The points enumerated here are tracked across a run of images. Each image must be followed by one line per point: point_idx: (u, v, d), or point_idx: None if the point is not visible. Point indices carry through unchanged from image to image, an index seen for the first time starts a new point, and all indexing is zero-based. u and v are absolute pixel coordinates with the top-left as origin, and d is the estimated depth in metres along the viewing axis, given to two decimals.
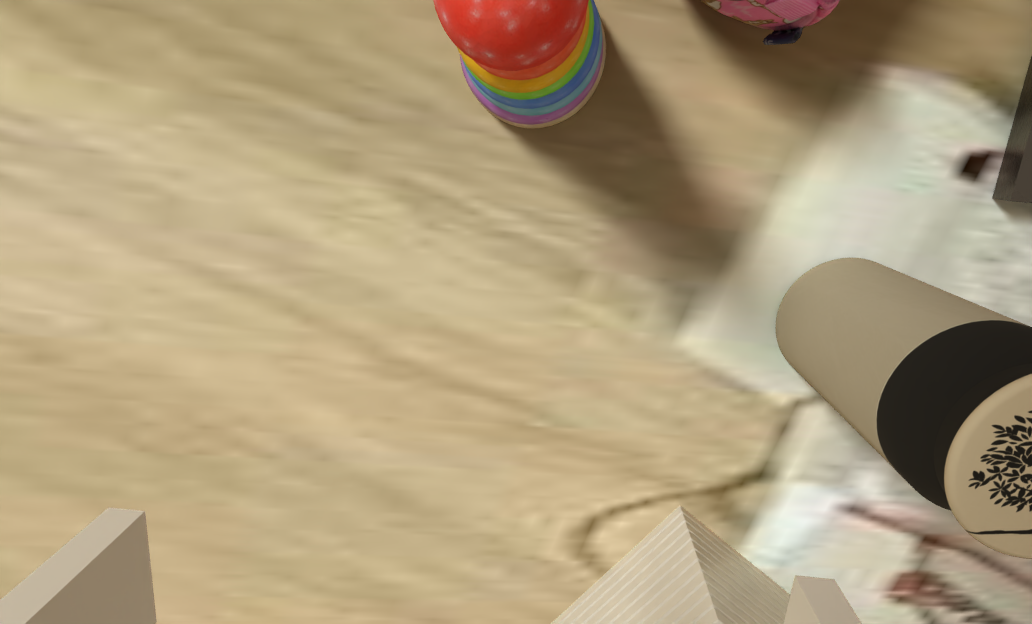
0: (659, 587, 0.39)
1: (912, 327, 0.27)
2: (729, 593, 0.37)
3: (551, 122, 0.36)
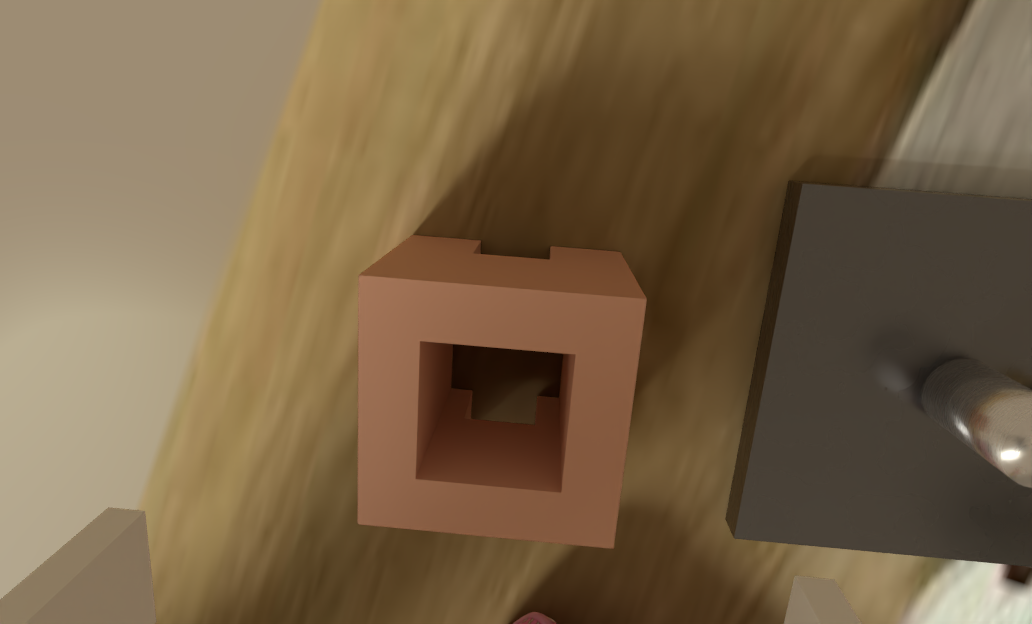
0: None
1: None
2: None
3: None
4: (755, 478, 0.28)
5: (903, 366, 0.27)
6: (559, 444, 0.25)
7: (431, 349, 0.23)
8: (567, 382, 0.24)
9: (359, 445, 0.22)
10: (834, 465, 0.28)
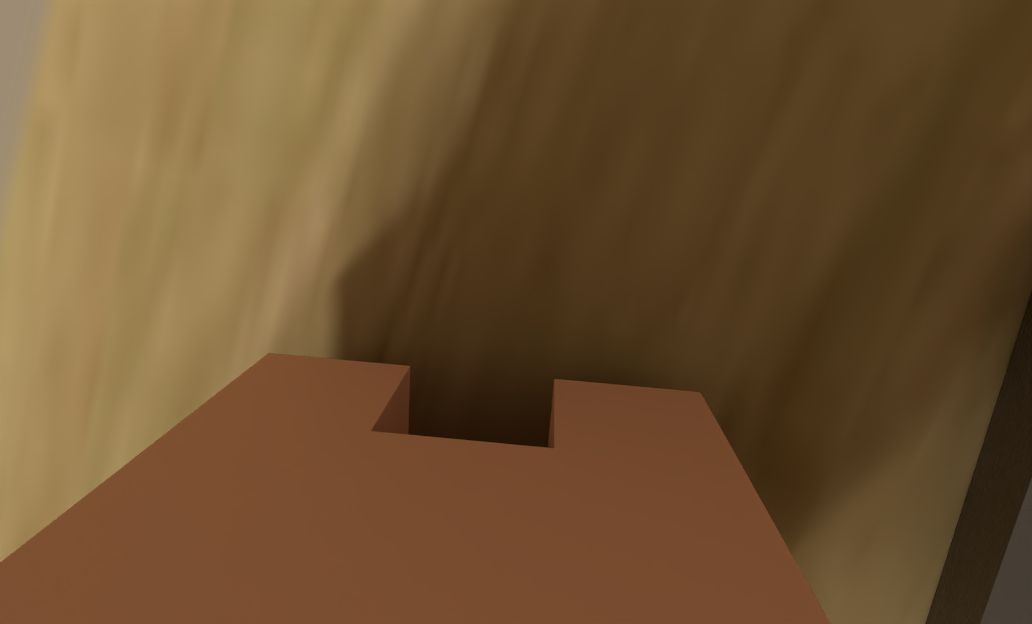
0: None
1: None
2: None
3: None
4: None
5: None
6: None
7: None
8: None
9: None
10: None
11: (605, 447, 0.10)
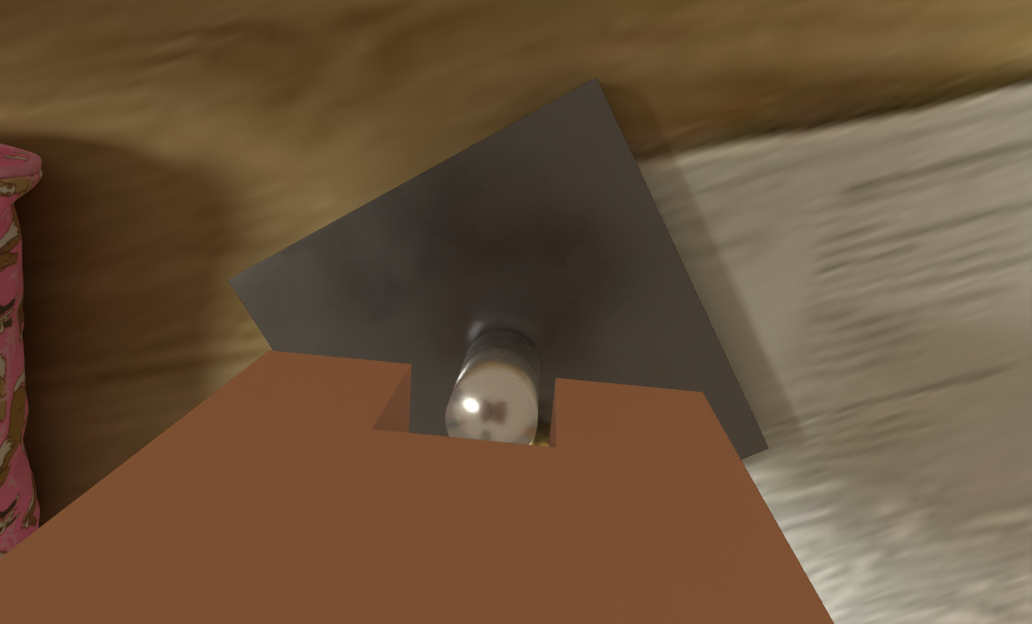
0: None
1: None
2: None
3: None
4: (299, 253, 0.25)
5: (493, 301, 0.25)
6: None
7: None
8: None
9: None
10: (364, 315, 0.25)
11: (607, 446, 0.10)
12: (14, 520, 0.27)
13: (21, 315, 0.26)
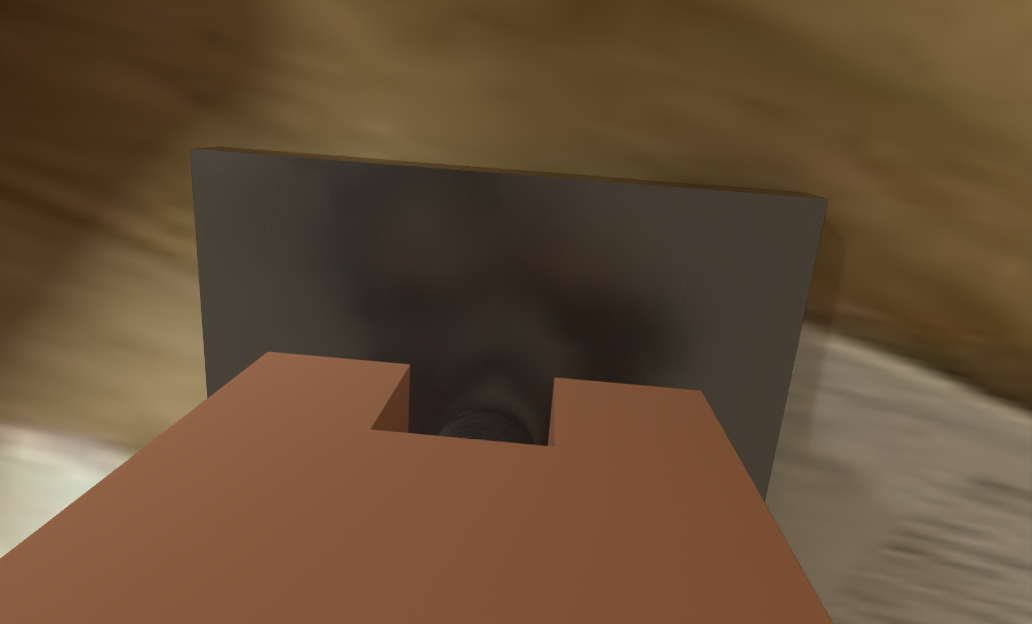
0: None
1: None
2: None
3: None
4: (312, 175, 0.16)
5: (524, 381, 0.17)
6: None
7: None
8: None
9: None
10: (350, 302, 0.17)
11: (606, 445, 0.10)
12: None
13: None
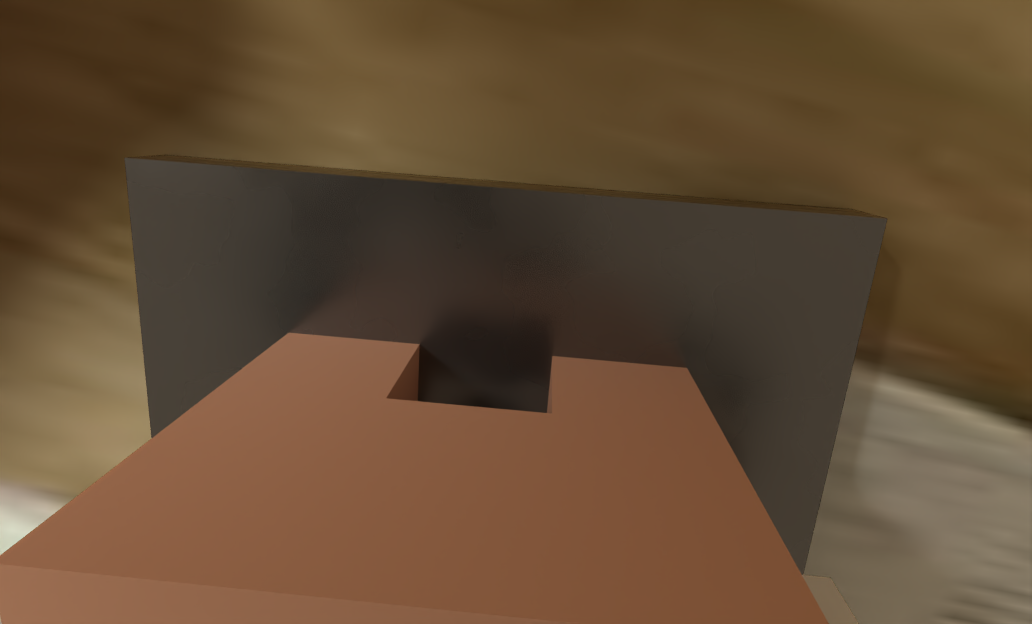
0: None
1: None
2: None
3: None
4: (269, 189, 0.14)
5: None
6: None
7: None
8: None
9: None
10: None
11: (598, 413, 0.12)
12: None
13: None
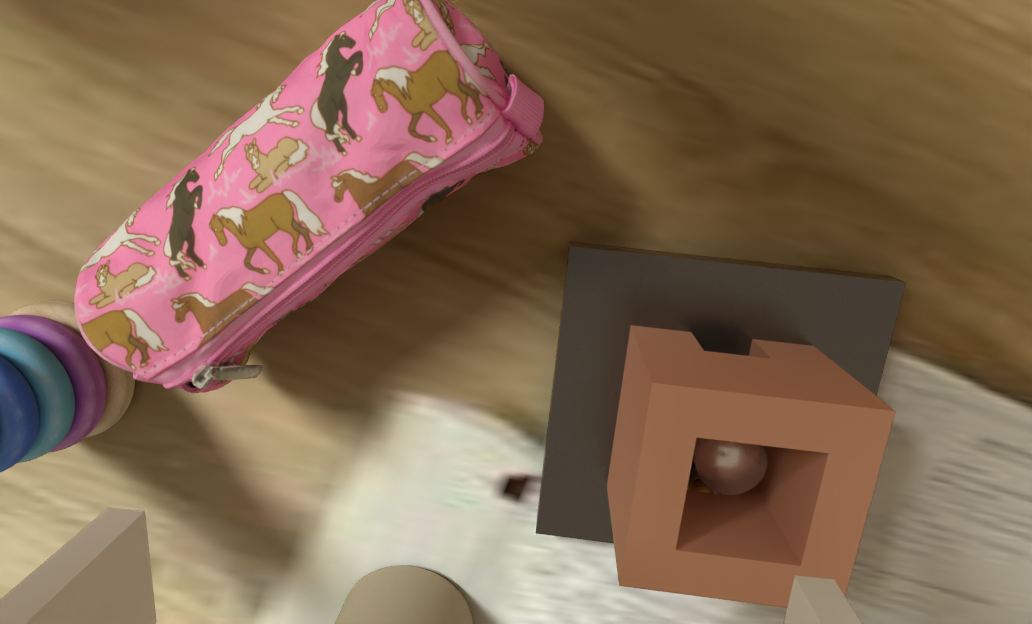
0: None
1: None
2: None
3: None
4: (633, 261, 0.31)
5: None
6: (773, 517, 0.29)
7: None
8: (791, 467, 0.28)
9: (631, 520, 0.26)
10: None
11: (788, 359, 0.29)
12: None
13: None
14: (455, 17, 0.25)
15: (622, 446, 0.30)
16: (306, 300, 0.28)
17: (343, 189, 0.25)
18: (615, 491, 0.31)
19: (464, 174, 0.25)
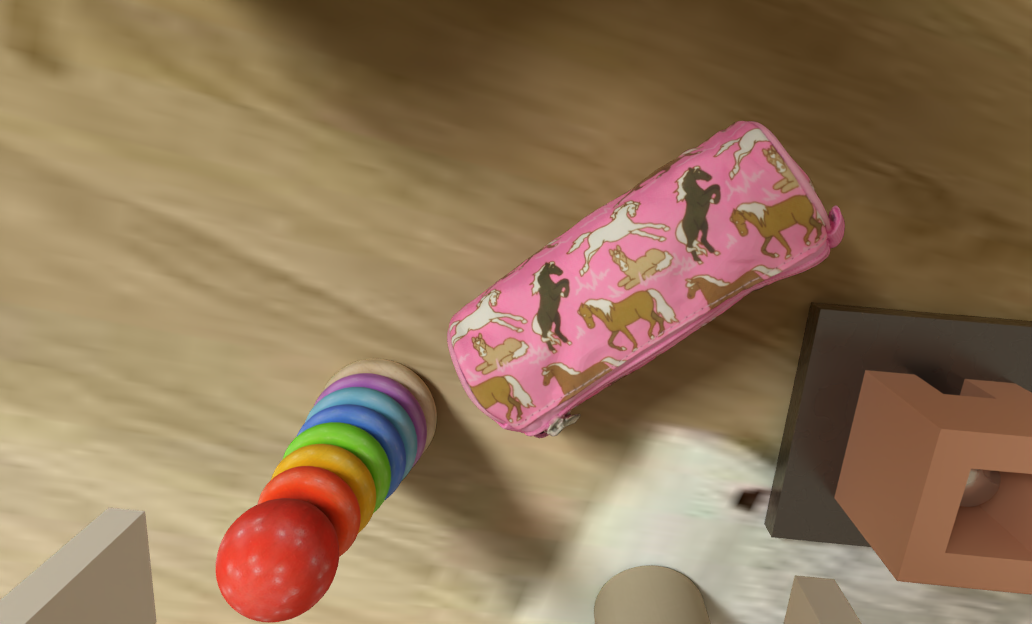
0: None
1: None
2: None
3: None
4: (872, 320, 0.38)
5: None
6: (998, 523, 0.37)
7: None
8: (1020, 484, 0.35)
9: (912, 531, 0.33)
10: None
11: (1010, 398, 0.36)
12: None
13: None
14: None
15: (871, 469, 0.38)
16: (638, 367, 0.35)
17: (696, 289, 0.32)
18: (862, 504, 0.38)
19: (785, 276, 0.33)
